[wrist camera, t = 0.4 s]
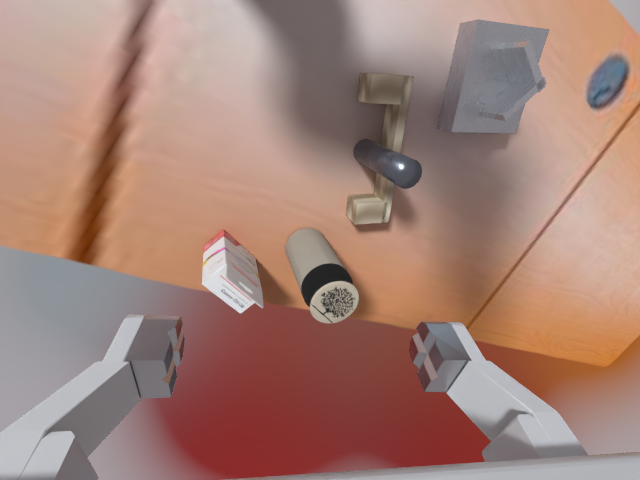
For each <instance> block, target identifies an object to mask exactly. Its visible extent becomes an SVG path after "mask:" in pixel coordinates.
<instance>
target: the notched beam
mask: <svg viewBox="0 0 640 480" xmlns="http://www.w3.org/2000/svg"><path fill="white" fill-rule="evenodd" d="M412 82H413V76H404V75H390V74H377V73H360V82H359V92H358V101H360V102H365V103H374V104H386V110H385V117H384V124H383V132H382V139H381V145H382V146H384V147H386V148H388V149H391V150H393V151H395V152H398V153H400V152H401V146H402V140H403V134H404V129H405V123H406V117H407V111H408V105H409V99H410V93H411V88H412ZM394 187H395V184H394V183H393V182H391V181H389V180H388V179H386V178H385V177H383V176H381V175H380V174H378V173H377V174H376V181H375V188H374V194H360V195H348V200H347V209H346V216H347V217H348V218H349V219H350V220H351V221H352V222H353V223H354V224H355V225H356V224H370V223H384V222H389V217H390V211H391V205H392V199H393V193H394Z"/></svg>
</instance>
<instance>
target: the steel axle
mask: <svg viewBox="0 0 640 480" xmlns="http://www.w3.org/2000/svg"><path fill="white" fill-rule="evenodd" d="M354 157H355V159H356V160H357V161H359V162H360V163H362V164H364V165H365V166H367V167H368V168H370V169H372V170H373V171H375V172H376V173H378V174H380V175H381V176H383V177H385V178H386V179H388V180H389V181H391V182H393V183H394V184H396V185H397V186H399V187H401V188H404V189H407V188H411V187H413V186H414V185H415V184H416V183H417V182H418V181H419V179H420V177H421V174H422V168H421V165H420V163H419V162H418V161H416V160H414V159H411V158H409V157H407V156H404V155H402V154H400V153H398V152H395V151H393V150H391V149H388V148H386V147H384V146H382V145H379V144H377V143H375V142H372V141H370V140H367V139H364V140H361V141H359V142H358V143H357V144H356V146H355V148H354Z"/></svg>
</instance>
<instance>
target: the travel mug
mask: <svg viewBox="0 0 640 480" xmlns="http://www.w3.org/2000/svg"><path fill="white" fill-rule="evenodd" d="M286 254H287V257H288V259H289V262H290V264H291V267H292V270H293V272H294V275H295V277H296V280H297V282H298V285H299V288H300V290H301V293H302V295H303V298H304V300H305V303H306V304H307V305H308V306H309V307H310V311H311V313H312V315H313V317H314V318H315V319H316V320H318V321H320V322H322V323H336V322H339V321H342V320H344V319H345V318H347V317H348V316H350V315H351V314H352V313H353V312H354V310H355V309H356V307H357V305H358V302H359V293H358V291H357V289H356V287H355V286H354V285H353V282H352V279H351V277H350V275H349V274H348V272H347V271H346V269H345V268H344V266H343V265H342V263H341V262H340V260H339V259H338V257H337V256H336V254H335V252H334V251H333V249H332V248H331V246H330V245H329V243H328V242H327V240H326V239H325V237H324V236H323V234H322V233H321V232H319V231H318V230H316V229H313V228H304V229H300V230H298V231H296V232H295V233H293V234H292V235H291V236H290V237H289V239H288V241H287V243H286Z"/></svg>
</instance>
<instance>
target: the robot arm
mask: <svg viewBox="0 0 640 480" xmlns="http://www.w3.org/2000/svg"><path fill="white" fill-rule="evenodd" d="M182 325H183V322H182V317H177V316H176V317H174V316H154V315H128V316H127V317H126V318H125V319H124V321H123V322H122V324H121V326H120V328H119V330H118V332H117V334H116V336H115V338H114V340H113V342H112V344H111V346H110V348H109V350H108V351H107V353H106V355H105V357H104V359H103V361H101V362H95V363H94V364H93V365H91V366H90V367H89V368H87V369H86V370H85V371H83V372H82V373H80V374H79V375H78V376H77V377H75V378H74V379H72V380H71V381H70V382H68V383H67V384H66V385H64V386H63V387H62V388H60V389H59V390H57V391H56V392H55V393H53V394H52V395H51V396H49V397H48V398H47V399H45V400H44V401H42V402H41V403H40V404H38V405H37V406H36V407H34V408H33V409H32V410H30V411H29V412H28V413H26V414H25V415H24V416H22V417H21V418H19V419H18V420H17V421H15V422H14V423H13V424H12V425H10V426H8V427H7V428H6V429H4V430H3V431H2V432H1V433H0V480H98V476H97V474H96V472H95V470H94V469H93V467H92V465H91V463H90V462H89V460H88V458H87V457H88V456H89V455H90V454H91V453H92V452H93V451H94V450H95V449H96V448H97V446H98V445H99V444H100V443H101V442H102V441H103V440H104V439H105V438H106V437H107V436H108V435H109V434H110V432H111V431H112V430H113V429H114V428H115V427H116V426H117V425H118V424H119V423H120V422H121V421H122V420H123V419H124V417H125V416H126V415H127V414H128V413H129V412H130V411H131V410H132V409H133V408H134V407H135V406H136V405H137V404H138V402H139V401H140V398H160V397H171V395H172V392H173V388H174V385H175V382H176V378H177V373H176V367H177V366H178V365H179V364H180V363H181V360H182V357H183V351H184V341H185V340H184V339H185V338H184V333H183V332H182V331H181V328H182ZM416 329H417V331H418V333H417V334H415V335H414V336H413V337H412V339H411V341H410V347H409V351H410V356H411V359H412V362H413V363H414V364H415V365H416V366H417V367H418V368H419V370H418V377H419V379H420V382H421V384H422V387H423V389H424V392H447V394H448V395H449V396H450V398H451V399H452V400H453V401H454V402H455V403H456V404H457V405H458V406H459V407H460V408H461V409H462V410H463V411H464V412H465V414H466V415H467V416H468V417H469V418H470V419H471V420H472V421H473V422H474V423H475V424H476V425H477V427H478V428H479V429H480V430H481V431H482V432H483V433H484V434H485V435H486V436H487V437H488V438H489V439H490V440H491V443H490V444H489V445H488V446H487V447H486V448H485V449H484V450H483V452H482V455H483V457H484V459H485V461H486V462H481V463H465V464H451V465H436V466H421V467H407V468H391V469H377V470H361V471H347V472H331V473H316V474H302V475H286V476H271V477H256V478H242V479H227V480H640V452H631V453H615V454H600V455H588V454H587V452H586V451H585V450H584V448H583V447H582V445H581V444H580V443H579V441H578V440H577V438H576V437H575V436H574V434H573V433H572V431H571V430H570V429H569V427H568V426H567V424H566V423H565V422H564V420H563V419H562V418H561V416H560V415H559V413H558V412H557V411H556V410H554V409H553V408H551V407H550V406H549V405H548V404H546V403H545V402H544V401H542V400H541V399H540V398H538V397H537V396H536V395H534V394H533V393H532V392H530V391H529V390H528V389H526V388H525V387H524V386H522V385H521V384H520V383H518V382H517V381H516V380H514V379H513V378H512V377H510V376H509V375H508V374H506V373H505V372H504V371H502V370H501V369H500V368H498V367H497V366H496V365H495V364H493V363H492V362H491V361H486V360H485V358H484V357H483V355H482V354H481V352H480V351H479V349H478V347H477V345H476V344H475V342H474V340H473V339H472V337H471V336H470V334H469V332H468V331H467V329H466V328H465V326H464V325H463V324H462V323H461V322H421V323H419V324H418V326H417V328H416Z"/></svg>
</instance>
